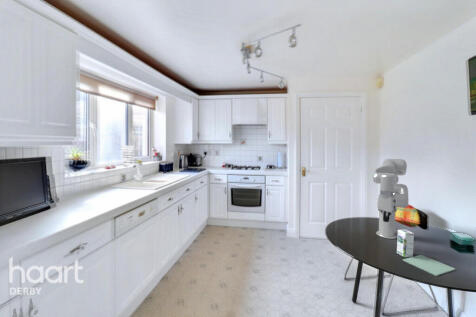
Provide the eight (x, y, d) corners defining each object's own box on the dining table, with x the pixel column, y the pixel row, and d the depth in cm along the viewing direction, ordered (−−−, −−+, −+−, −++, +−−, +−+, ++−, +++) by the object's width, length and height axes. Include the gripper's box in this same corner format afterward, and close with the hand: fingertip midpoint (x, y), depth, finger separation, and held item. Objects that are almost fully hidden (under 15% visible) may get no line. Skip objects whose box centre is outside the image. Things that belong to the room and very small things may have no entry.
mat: (420, 255, 129) (420, 254, 129) (455, 269, 114) (455, 268, 114) (402, 260, 124) (402, 259, 124) (436, 276, 109) (436, 274, 109)
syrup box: (396, 252, 133) (397, 229, 132) (405, 252, 133) (406, 229, 133) (404, 257, 127) (405, 233, 126) (413, 257, 128) (414, 232, 127)
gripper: (403, 195, 134) (402, 224, 135) (380, 191, 148) (379, 217, 149) (394, 196, 131) (393, 226, 132) (372, 191, 145) (371, 218, 146)
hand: (386, 221), depth 140 cm, fingers closed
